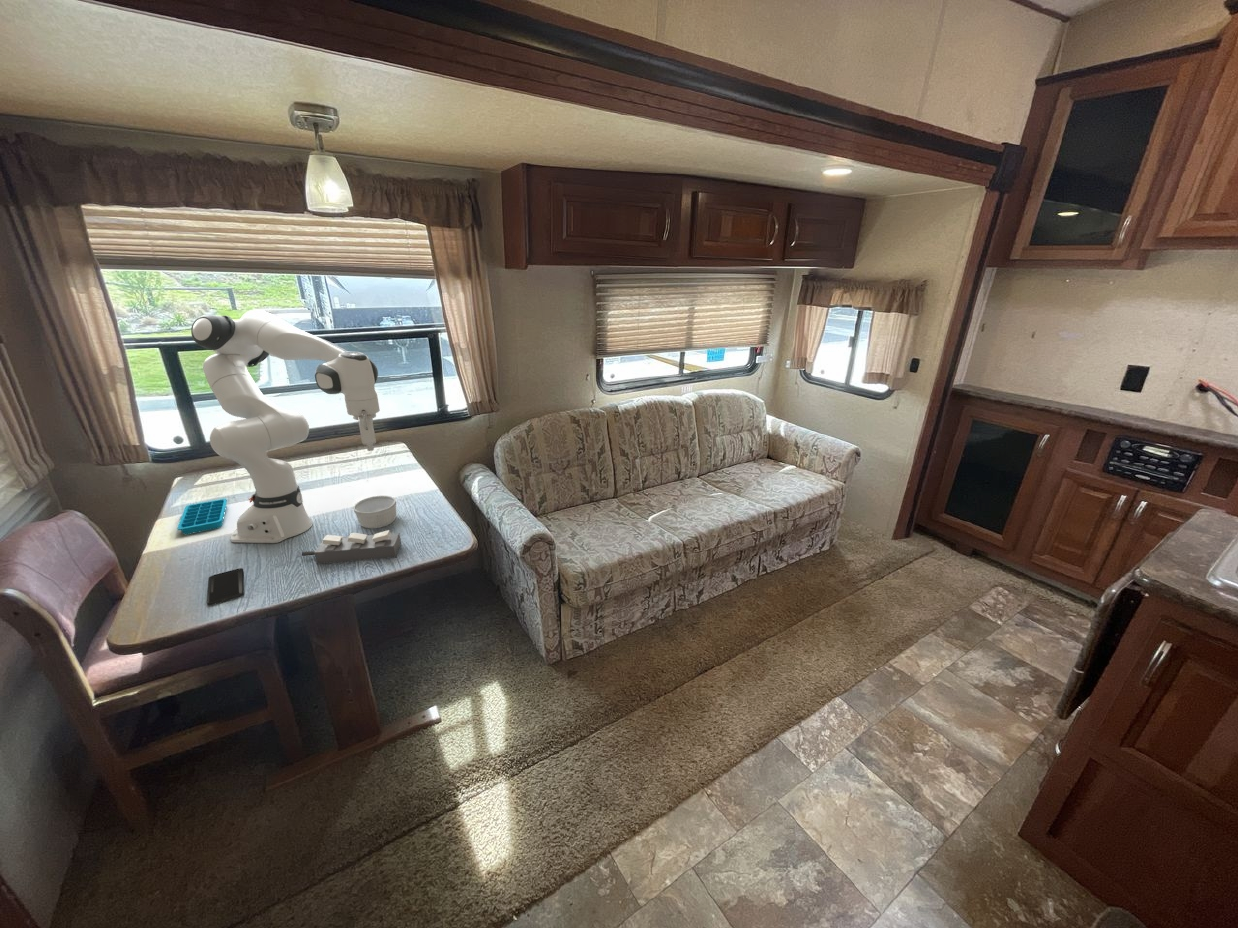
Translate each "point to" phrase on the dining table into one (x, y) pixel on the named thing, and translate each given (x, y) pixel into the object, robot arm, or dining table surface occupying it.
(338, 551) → the power strip
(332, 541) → the rocker
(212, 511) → the ice cube tray
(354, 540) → the rocker
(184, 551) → the dining table surface
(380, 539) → the block
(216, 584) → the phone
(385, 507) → the ramekin
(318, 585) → the dining table surface
